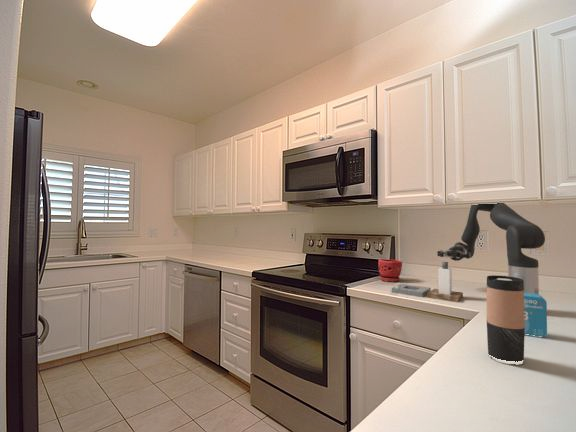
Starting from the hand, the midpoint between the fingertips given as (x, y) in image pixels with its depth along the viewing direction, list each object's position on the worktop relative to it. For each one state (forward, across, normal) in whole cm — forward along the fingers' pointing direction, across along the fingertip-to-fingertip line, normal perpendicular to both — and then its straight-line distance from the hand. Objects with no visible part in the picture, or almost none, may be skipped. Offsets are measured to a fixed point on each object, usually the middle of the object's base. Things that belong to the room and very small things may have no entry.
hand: (450, 255), depth 144 cm
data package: (+45, +28, +17) cm, 56 cm away
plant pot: (-10, -34, +19) cm, 40 cm away
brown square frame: (+12, 0, +18) cm, 21 cm away
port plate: (+12, -15, +18) cm, 26 cm away
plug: (+12, 0, +18) cm, 21 cm away
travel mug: (+70, +26, +17) cm, 77 cm away
